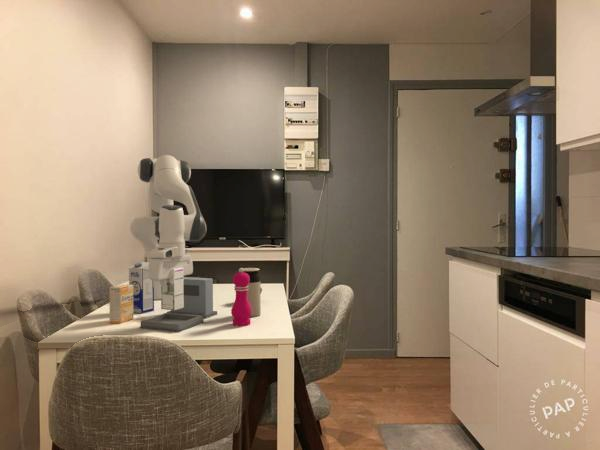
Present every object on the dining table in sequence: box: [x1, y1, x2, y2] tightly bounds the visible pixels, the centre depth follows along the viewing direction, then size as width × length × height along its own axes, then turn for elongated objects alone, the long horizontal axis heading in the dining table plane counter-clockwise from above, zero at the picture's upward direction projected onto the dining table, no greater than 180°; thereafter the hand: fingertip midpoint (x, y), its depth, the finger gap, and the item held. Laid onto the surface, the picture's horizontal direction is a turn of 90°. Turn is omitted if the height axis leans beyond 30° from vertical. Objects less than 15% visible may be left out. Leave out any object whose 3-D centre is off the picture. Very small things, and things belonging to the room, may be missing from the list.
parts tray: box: [140, 312, 204, 333], centre depth 153 cm, size 16×14×2 cm
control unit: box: [166, 276, 218, 320], centre depth 171 cm, size 18×8×14 cm, turn 68°
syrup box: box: [160, 267, 184, 311], centre depth 153 cm, size 6×6×14 cm
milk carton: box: [128, 261, 155, 315], centre depth 177 cm, size 7×7×20 cm
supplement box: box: [108, 283, 134, 324], centre depth 161 cm, size 8×5×13 cm, turn 168°
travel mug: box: [242, 267, 262, 318], centre depth 169 cm, size 8×8×18 cm
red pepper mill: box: [230, 267, 252, 327], centre depth 155 cm, size 7×7×20 cm
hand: (172, 290), depth 153 cm, fingers closed on syrup box, 6 cm apart
